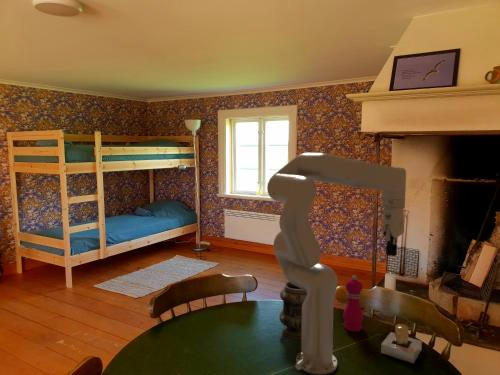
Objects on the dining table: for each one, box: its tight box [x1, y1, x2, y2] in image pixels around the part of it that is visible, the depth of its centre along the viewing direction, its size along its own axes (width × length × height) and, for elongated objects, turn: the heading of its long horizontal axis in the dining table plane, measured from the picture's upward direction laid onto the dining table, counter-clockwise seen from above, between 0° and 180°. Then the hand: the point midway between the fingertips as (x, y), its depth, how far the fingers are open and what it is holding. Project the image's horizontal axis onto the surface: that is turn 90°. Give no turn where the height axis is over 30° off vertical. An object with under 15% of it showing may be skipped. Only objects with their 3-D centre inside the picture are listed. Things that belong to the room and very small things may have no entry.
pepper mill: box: [342, 274, 364, 332], centre depth 137 cm, size 7×7×20 cm
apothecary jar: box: [279, 281, 307, 340], centre depth 134 cm, size 12×12×18 cm
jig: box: [380, 331, 423, 364], centre depth 122 cm, size 10×10×3 cm
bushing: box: [394, 323, 410, 348], centre depth 122 cm, size 4×4×8 cm
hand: (391, 254), depth 131 cm, fingers closed
